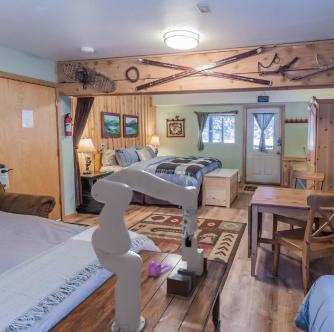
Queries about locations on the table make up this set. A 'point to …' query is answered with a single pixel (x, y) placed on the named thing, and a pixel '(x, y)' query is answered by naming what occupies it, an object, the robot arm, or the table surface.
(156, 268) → the bracket
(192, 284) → the grey books
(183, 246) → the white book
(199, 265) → the white books
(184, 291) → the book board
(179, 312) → the table surface
